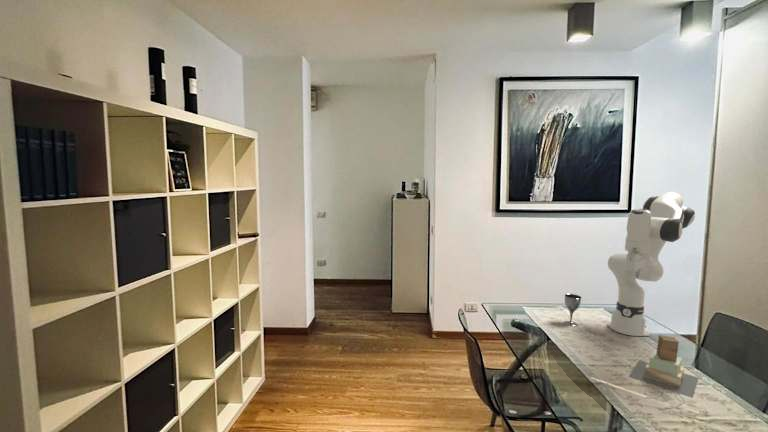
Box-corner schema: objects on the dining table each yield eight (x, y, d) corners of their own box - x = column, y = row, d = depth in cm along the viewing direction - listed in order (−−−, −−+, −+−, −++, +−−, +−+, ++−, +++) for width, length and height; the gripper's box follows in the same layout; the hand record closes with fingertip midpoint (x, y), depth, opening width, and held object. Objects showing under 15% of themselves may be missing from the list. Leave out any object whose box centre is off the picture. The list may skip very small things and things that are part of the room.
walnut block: (656, 354, 157) (658, 334, 156) (671, 356, 156) (673, 336, 155) (661, 359, 153) (663, 339, 152) (676, 361, 151) (678, 341, 150)
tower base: (649, 367, 163) (651, 358, 162) (683, 377, 155) (684, 367, 155) (644, 376, 155) (645, 367, 154) (679, 387, 147) (680, 377, 147)
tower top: (653, 359, 161) (654, 350, 161) (680, 367, 155) (681, 358, 154) (649, 367, 155) (650, 357, 154) (677, 375, 148) (678, 365, 148)
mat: (639, 361, 169) (639, 360, 169) (698, 379, 156) (698, 377, 156) (628, 378, 155) (628, 376, 155) (692, 399, 141) (692, 397, 141)
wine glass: (580, 327, 207) (583, 299, 205) (564, 325, 208) (566, 297, 206) (576, 321, 214) (579, 294, 213) (560, 319, 216) (563, 293, 214)
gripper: (640, 251, 159) (637, 284, 161) (650, 245, 174) (647, 276, 175) (622, 248, 164) (619, 281, 165) (634, 243, 178) (631, 274, 180)
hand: (634, 278), depth 170 cm, fingers open, 8 cm apart
